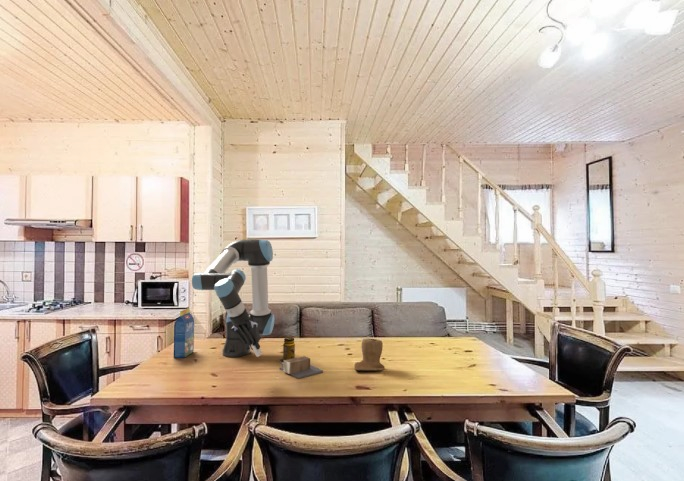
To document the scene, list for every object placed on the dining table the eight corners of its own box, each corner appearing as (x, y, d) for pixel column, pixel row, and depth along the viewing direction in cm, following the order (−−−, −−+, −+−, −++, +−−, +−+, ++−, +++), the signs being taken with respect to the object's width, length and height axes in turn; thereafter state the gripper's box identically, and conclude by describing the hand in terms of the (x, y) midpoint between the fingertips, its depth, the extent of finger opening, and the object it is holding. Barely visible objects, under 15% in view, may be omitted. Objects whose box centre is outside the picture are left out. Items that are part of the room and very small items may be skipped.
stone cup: (382, 365, 182) (382, 335, 183) (385, 373, 170) (386, 341, 171) (353, 365, 182) (353, 335, 182) (354, 373, 170) (354, 341, 170)
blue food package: (173, 358, 191) (174, 311, 192) (182, 351, 203) (183, 307, 204) (184, 358, 191) (185, 311, 192) (193, 351, 203) (194, 307, 204)
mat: (279, 368, 175) (279, 367, 175) (303, 363, 184) (303, 361, 184) (298, 378, 162) (298, 376, 162) (323, 372, 171) (323, 370, 171)
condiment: (297, 361, 187) (297, 338, 187) (282, 364, 182) (282, 340, 183) (291, 358, 193) (291, 335, 193) (276, 360, 188) (277, 337, 189)
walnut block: (283, 360, 170) (304, 355, 177) (283, 371, 170) (304, 366, 177) (289, 363, 166) (310, 358, 174) (288, 374, 166) (310, 368, 173)
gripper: (220, 320, 151) (243, 362, 159) (246, 315, 147) (268, 358, 155) (228, 309, 157) (250, 350, 166) (253, 304, 153) (274, 346, 162)
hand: (259, 354), depth 160 cm, fingers closed
